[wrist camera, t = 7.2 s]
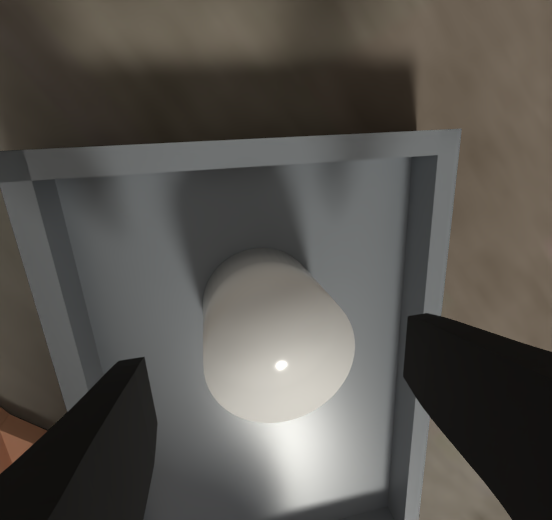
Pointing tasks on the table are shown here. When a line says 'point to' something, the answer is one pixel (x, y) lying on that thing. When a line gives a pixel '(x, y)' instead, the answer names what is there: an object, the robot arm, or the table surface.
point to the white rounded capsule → (272, 338)
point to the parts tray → (191, 285)
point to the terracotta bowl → (15, 438)
